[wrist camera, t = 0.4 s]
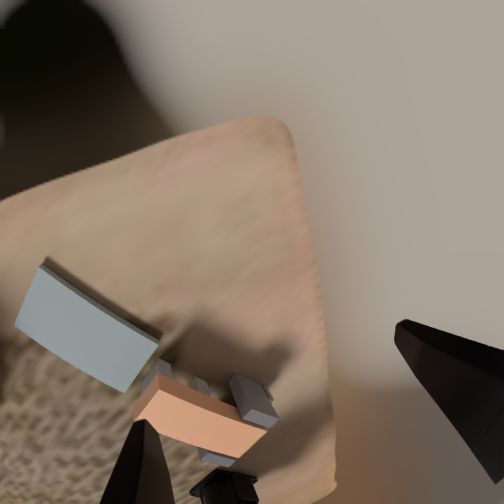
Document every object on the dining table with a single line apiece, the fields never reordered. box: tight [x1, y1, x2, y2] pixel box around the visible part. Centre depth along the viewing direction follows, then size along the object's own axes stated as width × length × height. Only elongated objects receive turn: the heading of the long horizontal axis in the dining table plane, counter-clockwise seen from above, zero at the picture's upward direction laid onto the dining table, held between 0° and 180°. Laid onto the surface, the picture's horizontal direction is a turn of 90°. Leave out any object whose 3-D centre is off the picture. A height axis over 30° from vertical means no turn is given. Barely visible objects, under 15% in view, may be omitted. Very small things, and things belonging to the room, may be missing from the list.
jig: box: [141, 358, 279, 467], centre depth 23 cm, size 7×10×5 cm
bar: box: [134, 373, 267, 458], centre depth 21 cm, size 4×10×2 cm, turn 51°
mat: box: [14, 264, 159, 393], centre depth 21 cm, size 6×11×1 cm, turn 51°
